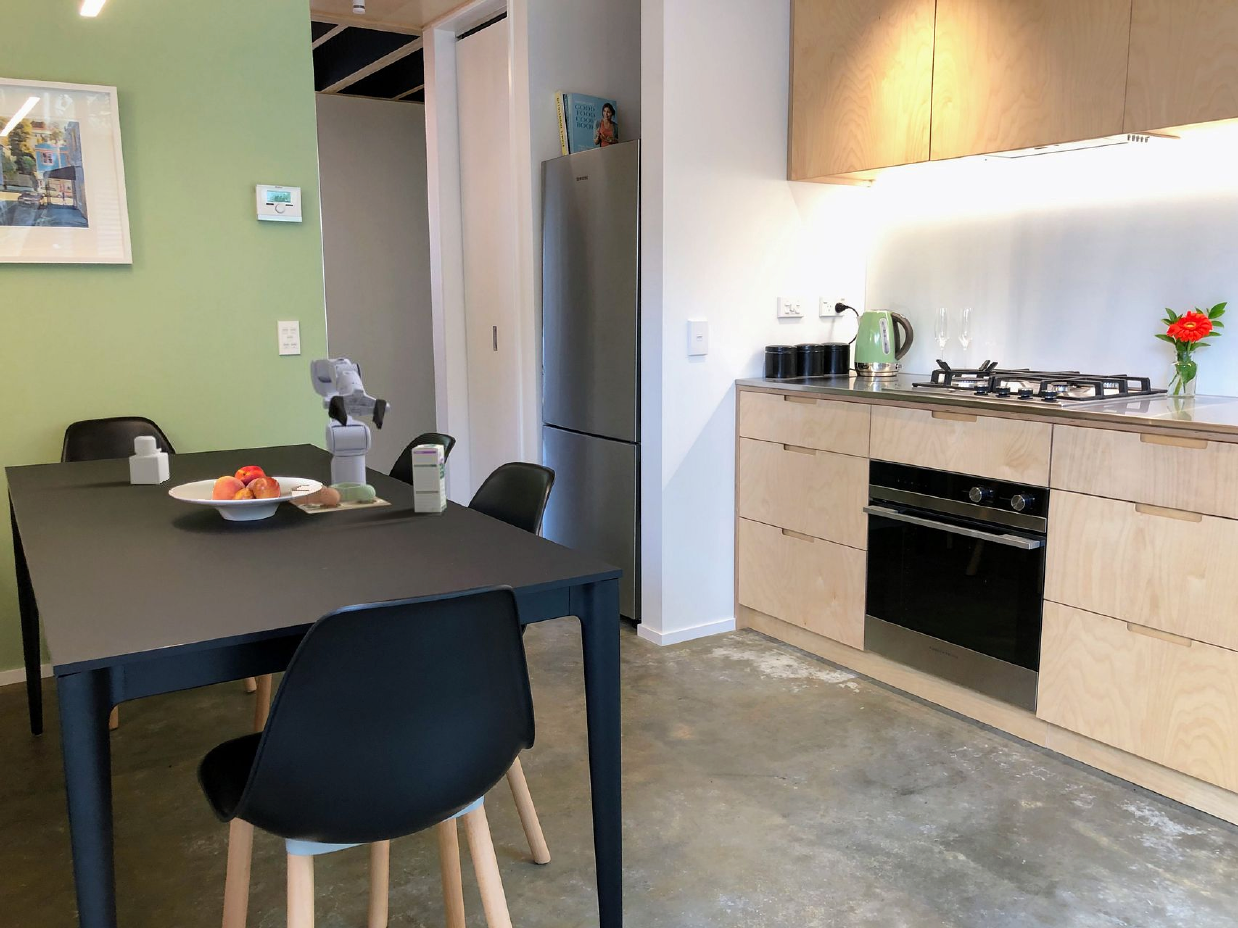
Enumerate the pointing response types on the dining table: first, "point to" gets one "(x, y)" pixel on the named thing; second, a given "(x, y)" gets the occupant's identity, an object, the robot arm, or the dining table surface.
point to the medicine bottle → (148, 461)
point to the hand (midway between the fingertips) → (363, 424)
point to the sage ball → (366, 493)
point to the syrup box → (429, 478)
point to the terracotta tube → (308, 496)
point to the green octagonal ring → (347, 491)
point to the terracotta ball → (330, 497)
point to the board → (340, 505)
